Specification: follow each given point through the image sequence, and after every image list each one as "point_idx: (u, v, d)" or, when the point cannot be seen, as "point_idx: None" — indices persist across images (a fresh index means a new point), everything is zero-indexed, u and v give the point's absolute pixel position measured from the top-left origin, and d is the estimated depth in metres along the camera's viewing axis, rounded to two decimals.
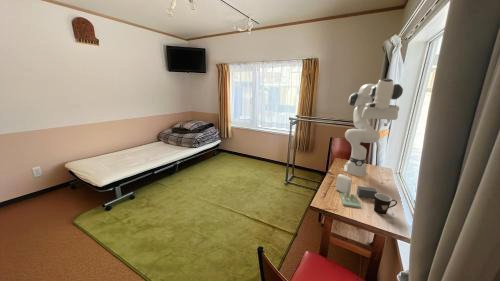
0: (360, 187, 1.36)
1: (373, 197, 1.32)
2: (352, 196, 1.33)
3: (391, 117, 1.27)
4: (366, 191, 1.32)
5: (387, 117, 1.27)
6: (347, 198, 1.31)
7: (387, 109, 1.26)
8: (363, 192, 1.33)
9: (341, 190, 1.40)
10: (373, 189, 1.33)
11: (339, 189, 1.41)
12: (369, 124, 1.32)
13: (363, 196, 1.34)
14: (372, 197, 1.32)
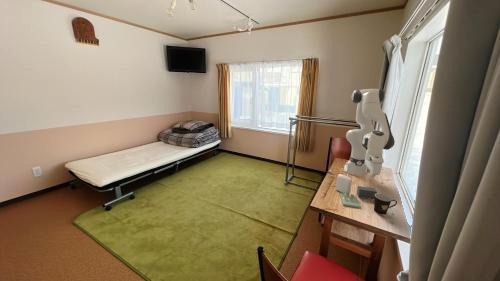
0: (360, 187, 1.36)
1: (373, 197, 1.32)
2: (352, 196, 1.33)
3: None
4: (366, 191, 1.32)
5: None
6: (347, 198, 1.31)
7: None
8: (363, 192, 1.33)
9: (341, 190, 1.40)
10: (373, 189, 1.33)
11: (339, 189, 1.41)
12: None
13: (363, 196, 1.34)
14: (372, 197, 1.32)
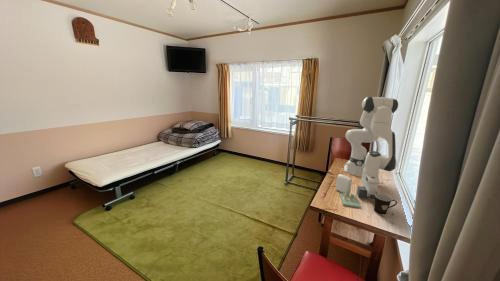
0: (360, 187, 1.36)
1: (373, 197, 1.32)
2: (352, 196, 1.33)
3: None
4: (366, 191, 1.32)
5: None
6: (347, 198, 1.31)
7: None
8: (363, 192, 1.33)
9: (341, 190, 1.40)
10: None
11: (339, 189, 1.41)
12: (369, 195, 1.31)
13: (363, 196, 1.34)
14: (372, 197, 1.32)
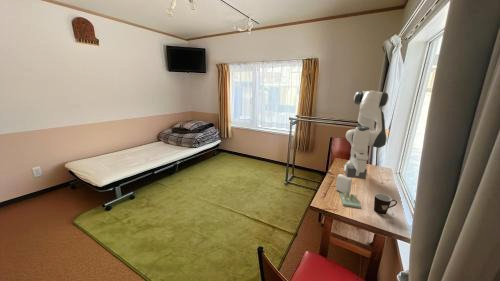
0: (349, 166, 1.25)
1: (363, 176, 1.22)
2: (352, 196, 1.33)
3: None
4: (355, 170, 1.22)
5: None
6: (347, 198, 1.31)
7: None
8: (352, 171, 1.23)
9: (341, 190, 1.40)
10: None
11: (339, 189, 1.41)
12: (358, 174, 1.21)
13: (352, 176, 1.23)
14: (362, 176, 1.22)
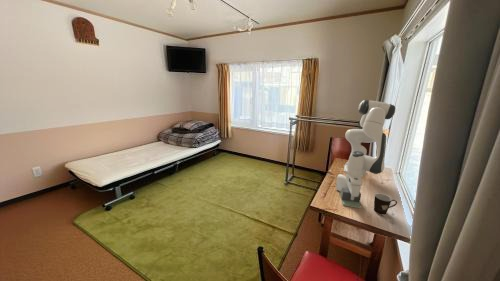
0: (344, 189, 1.30)
1: (357, 200, 1.26)
2: None
3: None
4: (350, 193, 1.27)
5: None
6: None
7: None
8: (347, 194, 1.27)
9: None
10: None
11: (339, 189, 1.41)
12: (353, 199, 1.24)
13: (347, 199, 1.28)
14: (356, 200, 1.27)
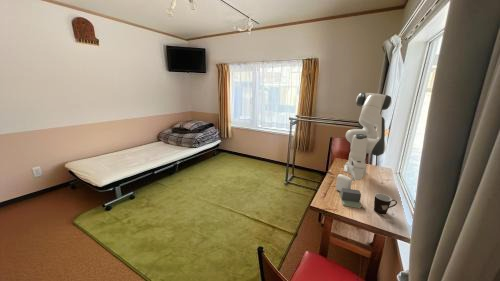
0: (344, 189, 1.30)
1: (357, 200, 1.26)
2: None
3: None
4: (350, 193, 1.27)
5: None
6: None
7: None
8: (347, 194, 1.27)
9: None
10: (357, 191, 1.28)
11: (339, 189, 1.41)
12: None
13: (347, 199, 1.28)
14: (356, 200, 1.27)
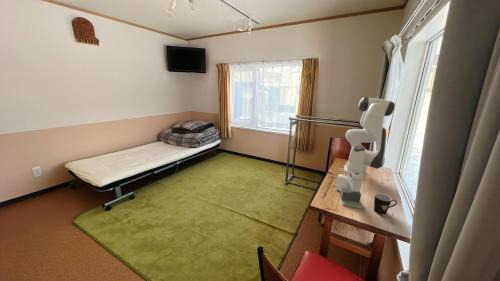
0: (344, 189, 1.30)
1: (357, 200, 1.26)
2: None
3: None
4: (350, 193, 1.27)
5: None
6: None
7: None
8: (347, 194, 1.27)
9: None
10: None
11: (339, 189, 1.41)
12: None
13: (347, 199, 1.28)
14: (356, 200, 1.27)
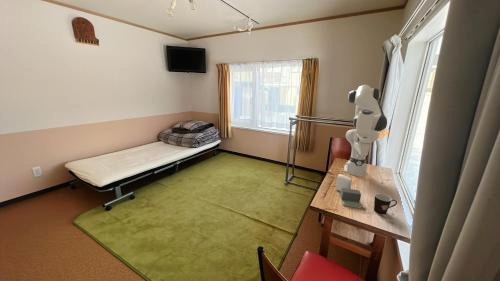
0: (344, 189, 1.30)
1: (357, 200, 1.26)
2: None
3: None
4: (350, 193, 1.27)
5: None
6: None
7: None
8: (347, 194, 1.27)
9: None
10: (357, 191, 1.28)
11: (339, 189, 1.41)
12: (360, 157, 1.24)
13: (347, 199, 1.28)
14: (356, 200, 1.27)
